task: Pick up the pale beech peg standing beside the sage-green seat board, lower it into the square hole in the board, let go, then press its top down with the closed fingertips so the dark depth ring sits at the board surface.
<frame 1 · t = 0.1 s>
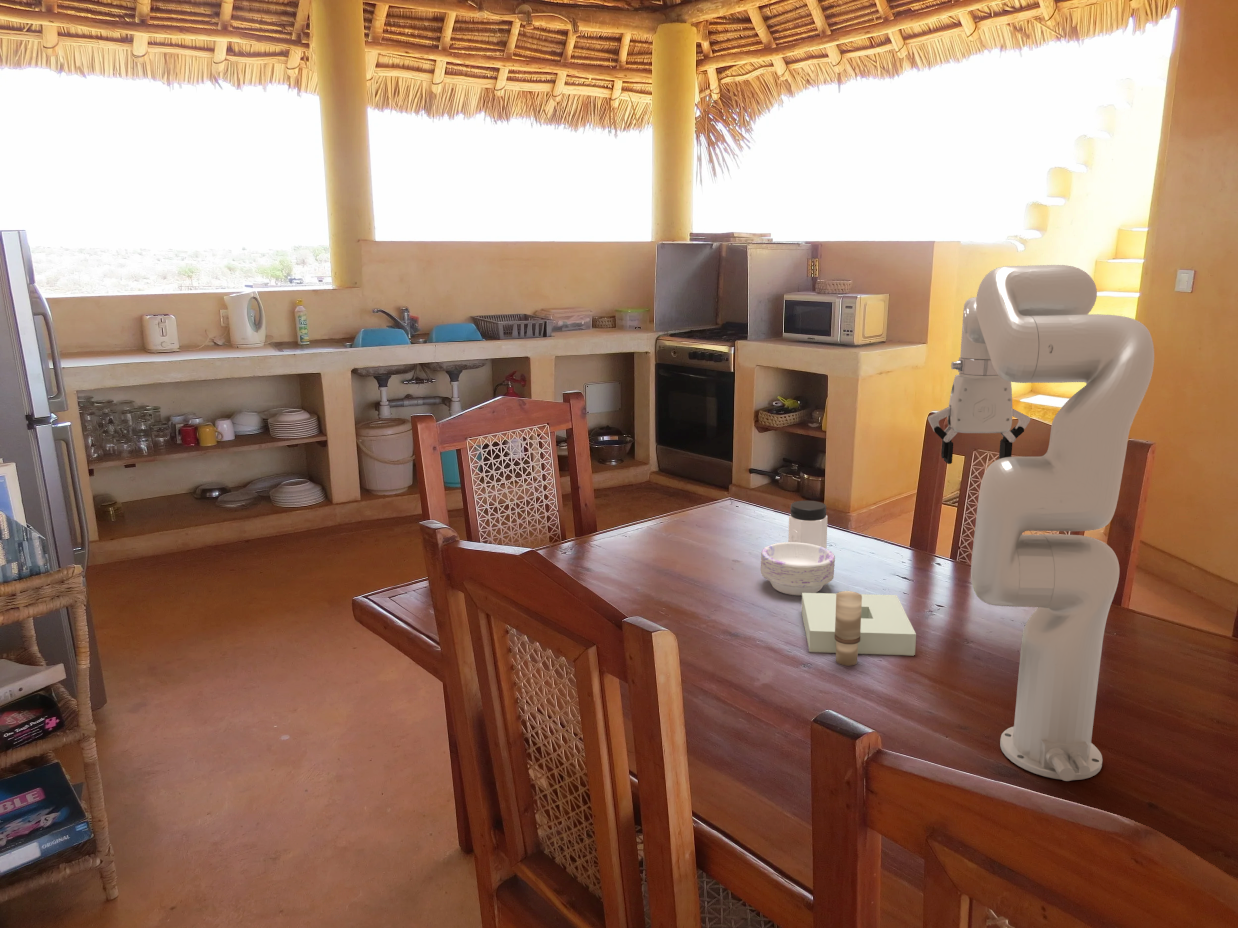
hand: (975, 462, 154), 31 cm above the table, tool pointing down, fingers open, 9 cm apart
board: (854, 632, 158), on the table
peg: (846, 660, 147), on the table
paper bowls: (796, 588, 181), on the table
jar: (807, 554, 201), on the table
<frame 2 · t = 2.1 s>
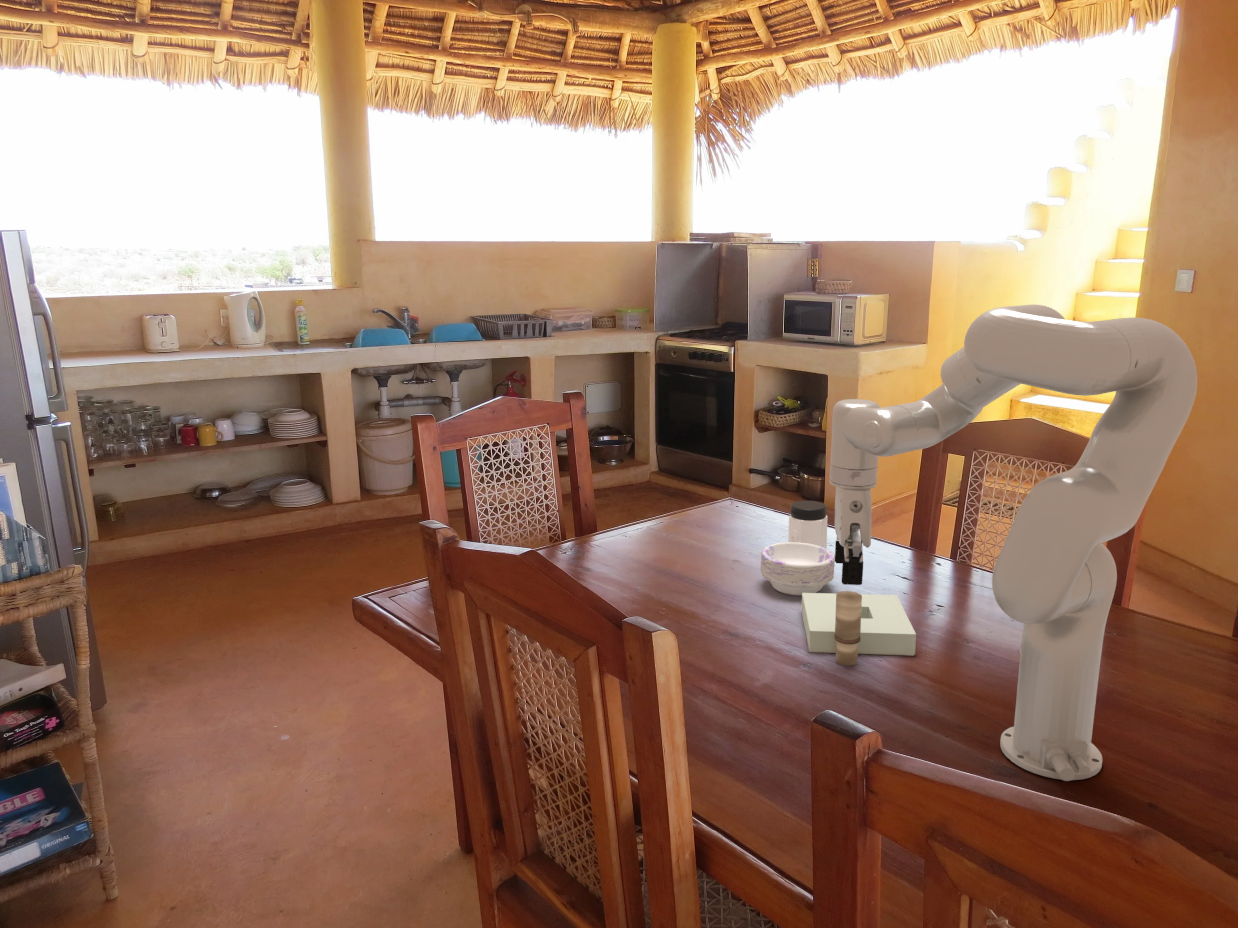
hand: (847, 573, 144), 16 cm above the table, tool pointing down, fingers open, 9 cm apart
nothing on the table moved.
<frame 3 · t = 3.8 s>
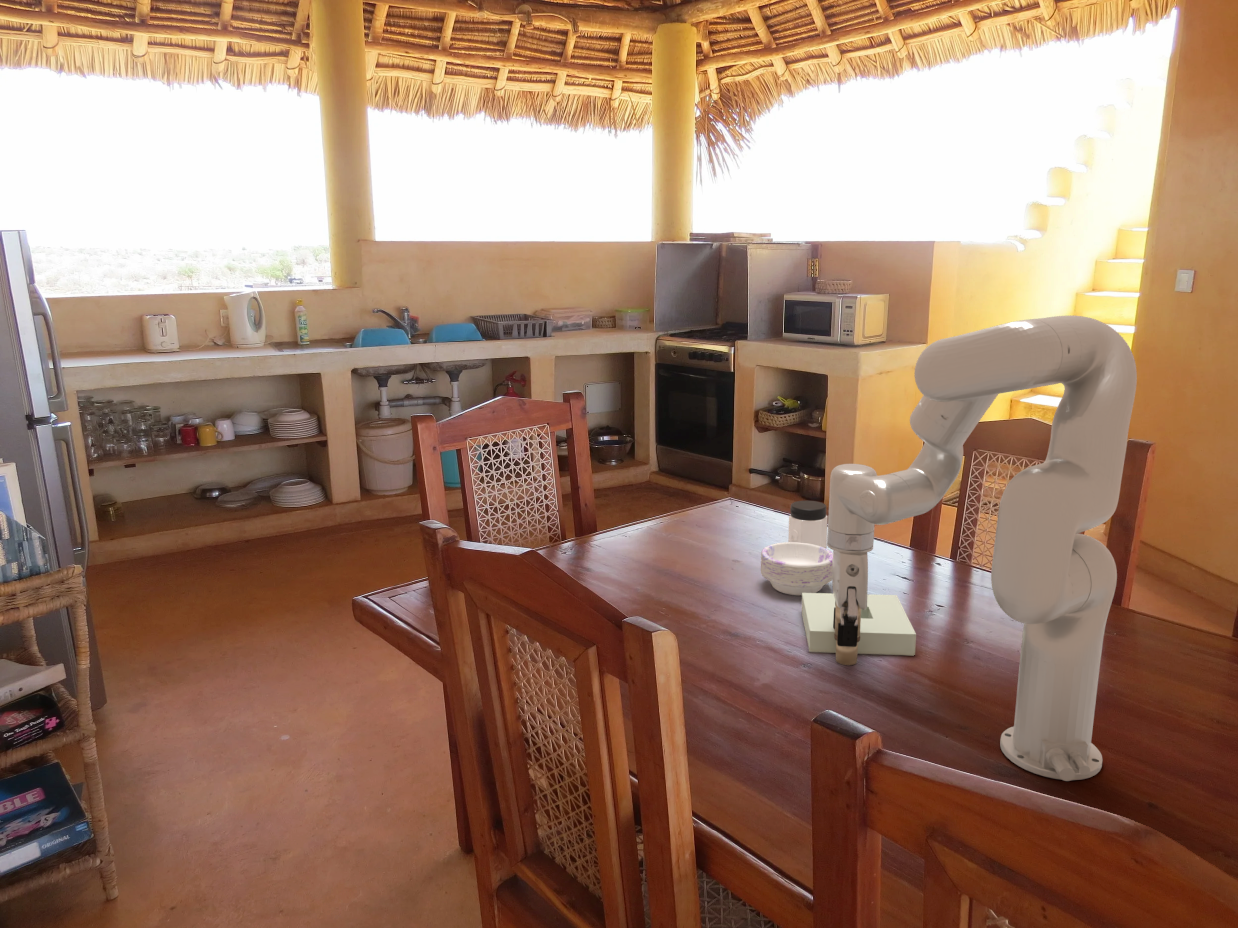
hand: (844, 636, 147), 4 cm above the table, tool pointing down, fingers open, 5 cm apart
peg: (846, 660, 147), on the table, touching gripper
everything else where it was.
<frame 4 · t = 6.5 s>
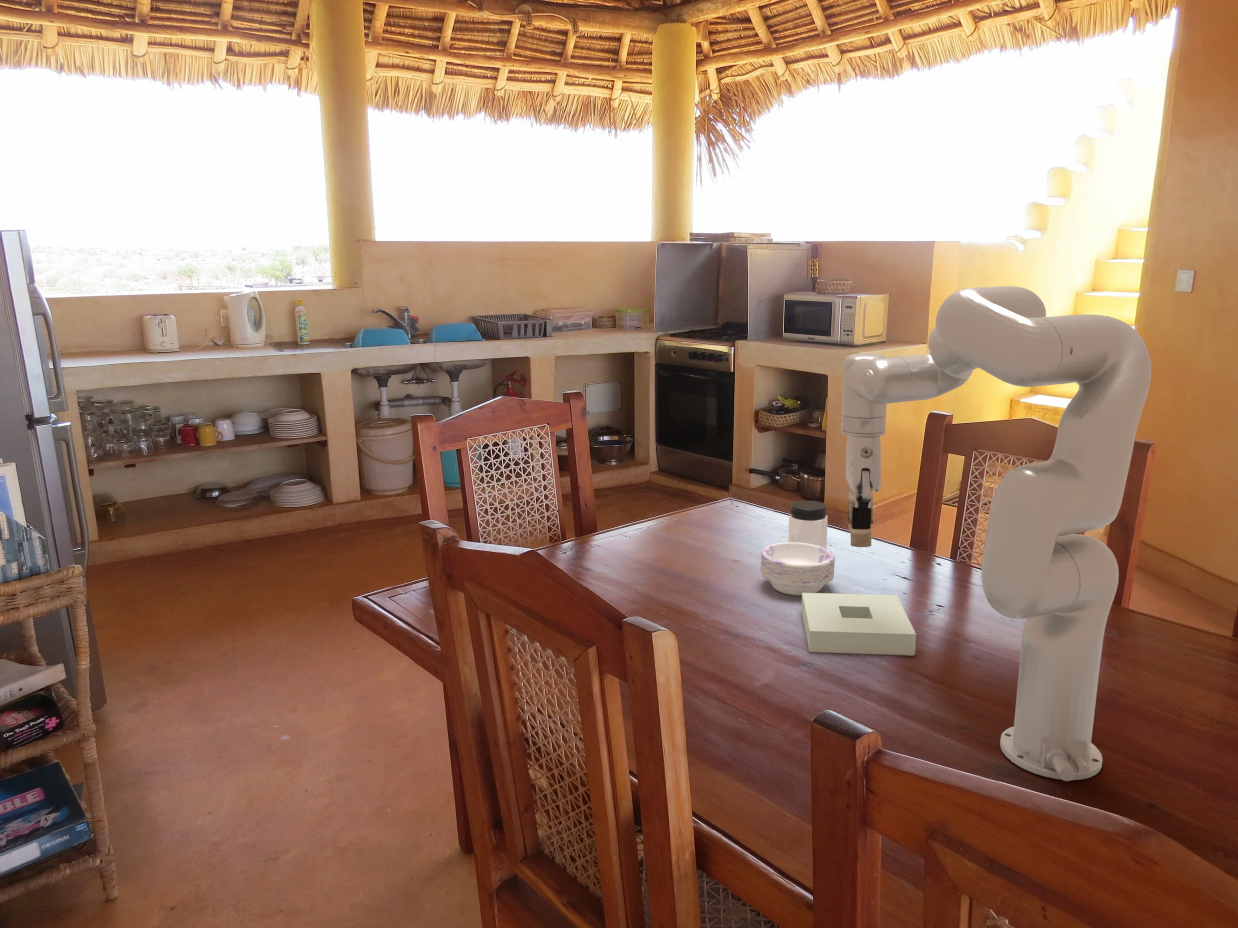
hand: (858, 523, 153), 21 cm above the table, tool pointing down, fingers closed on peg, 4 cm apart
peg: (861, 545, 153), point 17 cm above the table, tilted 8°, touching gripper
everything else where it was.
when the fingers open (5 cm above the table, at t = 8.7 s): peg drops 1 cm, resting in board.
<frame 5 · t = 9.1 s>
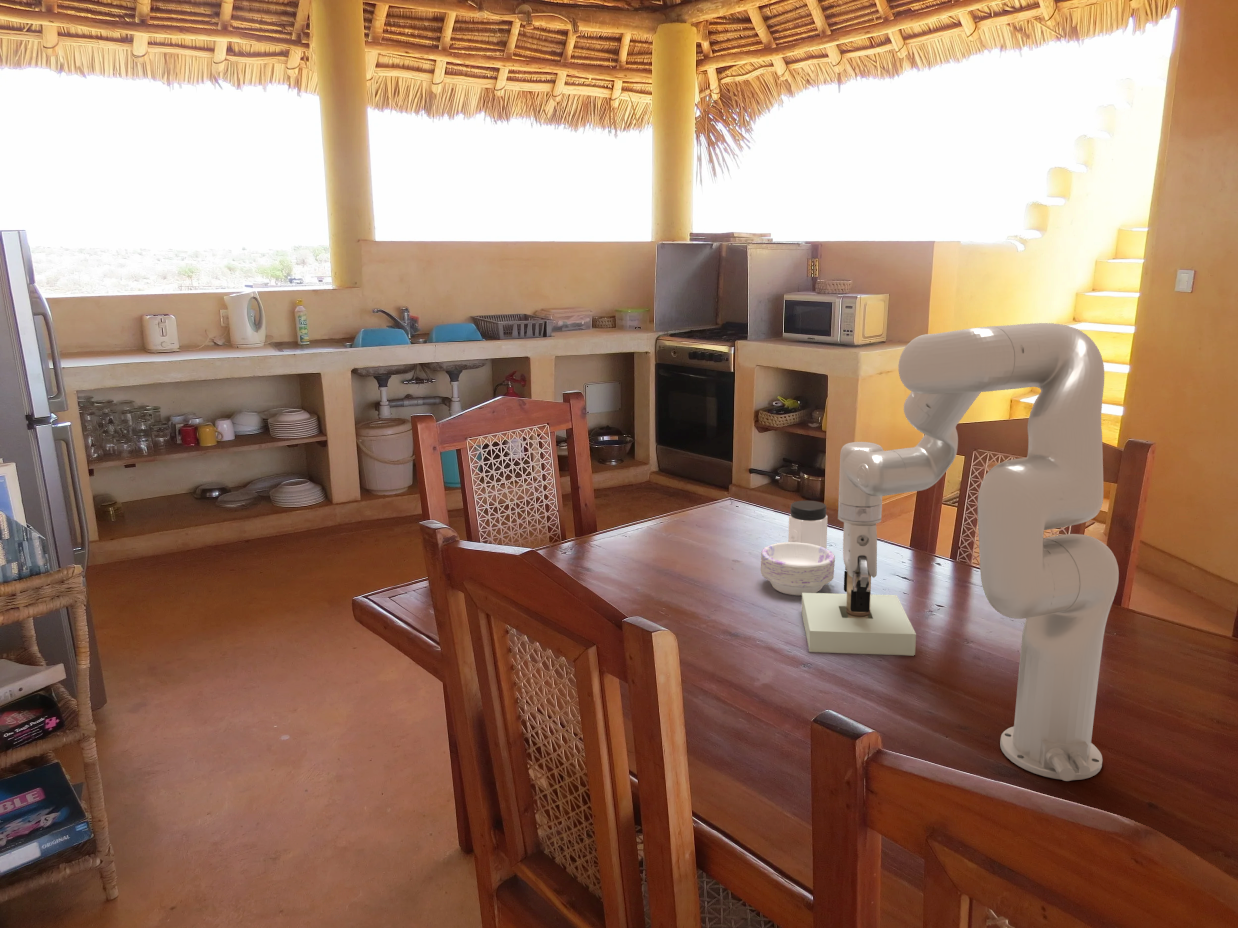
hand: (856, 600, 157), 6 cm above the table, tool pointing down, fingers open, 9 cm apart
peg: (857, 632, 158), resting in board
everything else where it was.
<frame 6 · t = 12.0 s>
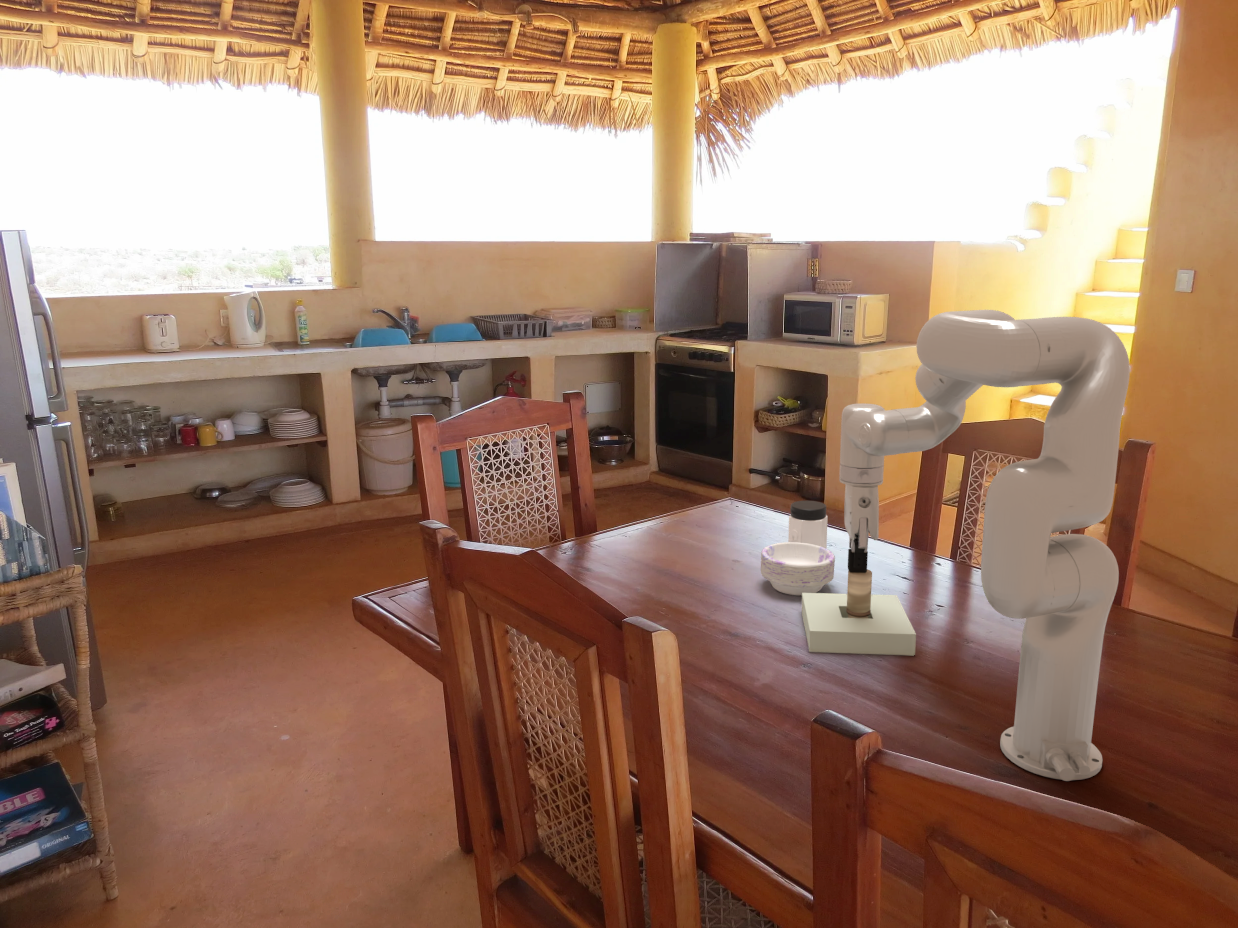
hand: (857, 570, 155), 12 cm above the table, tool pointing down, fingers closed
peg: (857, 632, 158), resting in board, touching gripper
everything else where it was.
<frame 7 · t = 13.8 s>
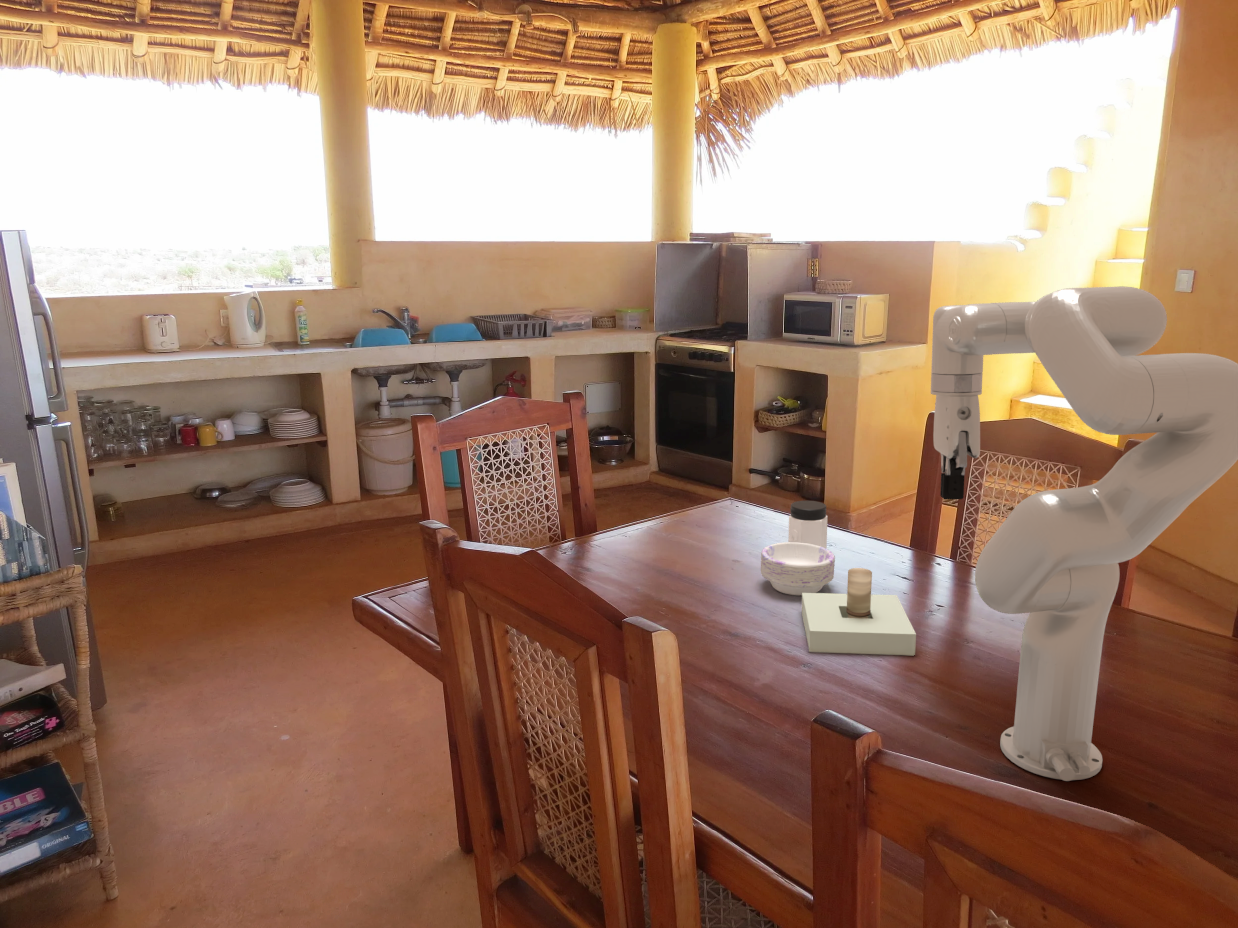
hand: (951, 497, 137), 30 cm above the table, tool pointing down, fingers closed
peg: (857, 632, 158), resting in board
everything else where it was.
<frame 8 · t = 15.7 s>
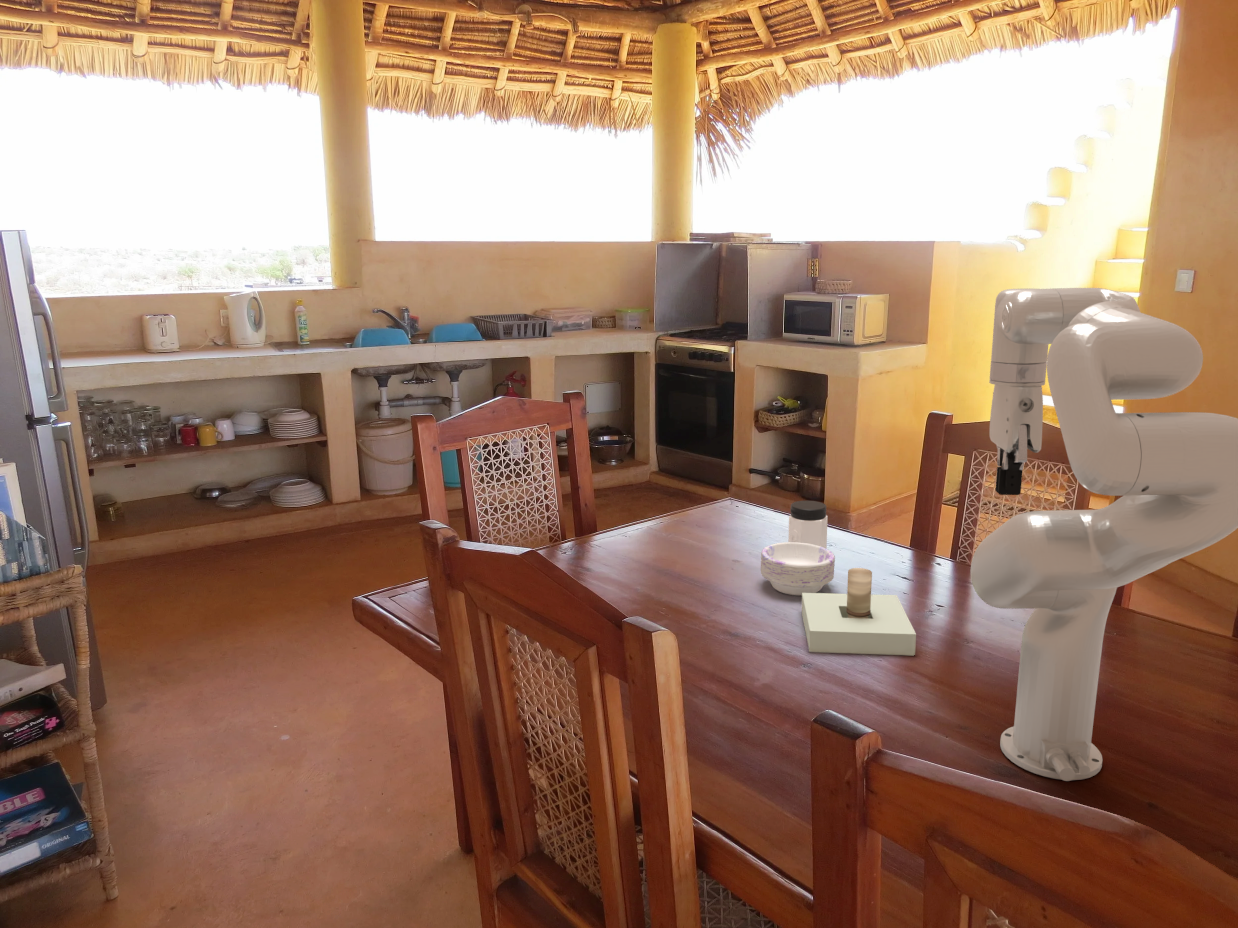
hand: (1007, 493, 130), 32 cm above the table, tool pointing down, fingers closed
nothing on the table moved.
at the end: peg 0.6 cm off-centre on the board, point 0.0 cm above the board's base; peg tilted 0°; the gripper is holding nothing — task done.
